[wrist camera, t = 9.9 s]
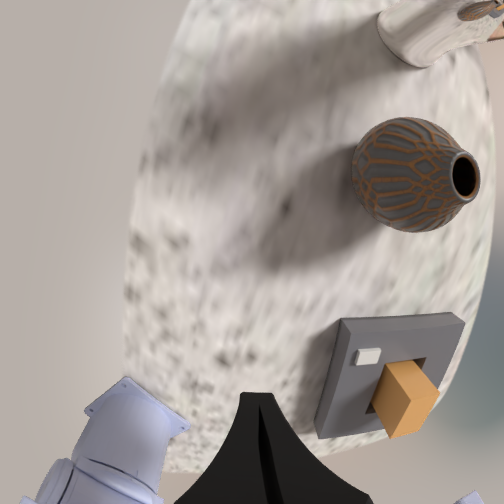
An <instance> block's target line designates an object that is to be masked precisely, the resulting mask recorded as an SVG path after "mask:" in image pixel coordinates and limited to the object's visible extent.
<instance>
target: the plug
mask: <svg viewBox="0 0 504 504" xmlns="http://www.w3.org/2000/svg"><path fill="white" fill-rule="evenodd" d="M439 394H440V392H439V391H438V390H437V388H436V387H435V386H434V385H433V384H432V382H431V381H430V380H429V379H428V378H427V376H426V375H425V374H424V373H423V372H422V370H421V369H420V368H419V367H418V366H417V364H416V363H415V362H414V361H413V360H405V361H398V362H391V363H385V365H384V367H383V370H382V373H381V376H380V378H379V381H378V383H377V386H376V389H375V391H374V393H373V396H372V398H371V401H370V402H371V404H372V405H373V407H374V409H375V411H376V413H377V415H378V417H379V419H380V421H381V422H382V424H383V426H384V428H385V430H386V432H387V434H388V436H389V438H390V439H391V438H395V437H399V436H403V435H406V434H410V433H413V432H416V431H419V429H420V428H421V426H422V424H423V423H424V421H425V419H426V418H427V416H428V414H429V413H430V411H431V409H432V407H433V405H434V404H435V402H436V400H437V398H438V396H439Z"/></svg>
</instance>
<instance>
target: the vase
mask: <svg viewBox="0 0 504 504" xmlns="http://www.w3.org/2000/svg"><path fill="white" fill-rule="evenodd" d="M351 173H352V181H353V186H354V189H355V192H356V194H357V196H358V198H359V200H360V202H361V203H362V205H363V206H364V207H365V209H366V210H367V211H368V212H369V213H370V214H371V215H372V216H373V217H374V218H376V219H377V220H378V221H380V222H381V223H383V224H385V225H387V226H389V227H391V228H394V229H397V230H400V231H404V232H412V233H418V232H427V231H431V230H435V229H437V228H440V227H442V226H444V225H445V224H447V223H448V222H450V221H451V220H452V219H453V218H454V217H455V216H456V215H457V214H458V212H459V211H460V210H461V209H462V207H463V206H464V205H465V204H467V203H469V202H471V201H472V200H474V198H475V197H476V196H477V194H478V191H479V188H480V171H479V167H478V164H477V162H476V160H475V159H474V157H473V156H472V155H471V154H470V153H468V152H467V151H465V150H464V149H462V148H461V147H460V146H459V145H458V143H457V142H456V141H455V140H454V139H453V137H452V136H451V135H450V134H449V133H447V132H446V131H445V130H444V129H442V128H441V127H439V126H438V125H436V124H434V123H432V122H429V121H426V120H423V119H419V118H412V117H399V118H394V119H390V120H387V121H385V122H382V123H380V124H378V125H377V126H375V127H374V128H372V129H371V130H370V131H368V132H367V133H366V135H365V136H364V137H363V138H362V139H361V141H360V142H359V144H358V146H357V148H356V150H355V153H354V156H353V160H352V168H351Z"/></svg>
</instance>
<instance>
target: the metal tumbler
mask: <svg viewBox="0 0 504 504" xmlns="http://www.w3.org/2000/svg"><path fill="white" fill-rule="evenodd" d="M377 28H378V32H379V34H380V36H381V38H382V40H383V41H384V43H385V44H386V45H387V47H388V48H389V49H390V50H391V51H392V52H393V53H394V54H395V55H396V56H397V57H399V58H400V59H401V60H403V61H404V62H406V63H408V64H410V65H412V66H415V67H420V68H425V67H429V66H431V65H433V64H434V63H435V62H436V61H438V60H439V59H440V58H441V57H442V56H443V55H444V54H445V53H446V52H448V51H450V50H452V49H455V48H458V47H462V46H467V45H473V44H479V43H485V42H493V41H498V40H503V39H504V0H400V1H398V2H397V3H395V4H393V5H392V6H390V7H388V8H386V9H384V10H383V11H382V12H381V13H380V14H379V16H378V18H377Z"/></svg>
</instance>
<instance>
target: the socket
mask: <svg viewBox="0 0 504 504" xmlns="http://www.w3.org/2000/svg"><path fill="white" fill-rule="evenodd" d="M464 326H465V322H464V321H463V320H461V319H460V318H458V317H457V316H456V315H454V314H453V313H452V312H445V313H434V314H421V315H406V316H387V317H362V318H341V320H340V325H339V329H338V334H337V338H336V343H335V347H334V351H333V355H332V359H331V363H330V367H329V371H328V375H327V379H326V382H325V386H324V389H323V393H322V396H321V400H320V403H319V407H318V410H317V413H316V416H315V419H314V425H315V428H316V432H317V436H318V439H326V438H334V437H342V436H348V435H355V434H360V433H366V432H371V431H376V430H381V429H385V428H384V426H383V424H382V422H381V421H380V419H379V417H378V415H377V413H376V411H375V409H374V407H373V405H372V404H371V402H370V401H371V398H372V396H373V393H374V391H375V389H376V386H377V383H378V381H379V378H380V376H381V373H382V370H383V367H384V365H385V363H391V362H398V361H405V360H413V361H414V362H415V363H416V364H417V366H418V367H419V368H420V369H421V370H422V372H423V373H424V374H425V375H426V376H427V378H428V379H429V380H430V381H431V382H432V384H433V385H434V386H435V387H436V388H437V389H438V387H439V385H440V383H441V381H442V379H443V377H444V375H445V373H446V371H447V368H448V366H449V364H450V362H451V359H452V357H453V355H454V352H455V350H456V347H457V345H458V342H459V339H460V337H461V334H462V331H463V329H464Z"/></svg>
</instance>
